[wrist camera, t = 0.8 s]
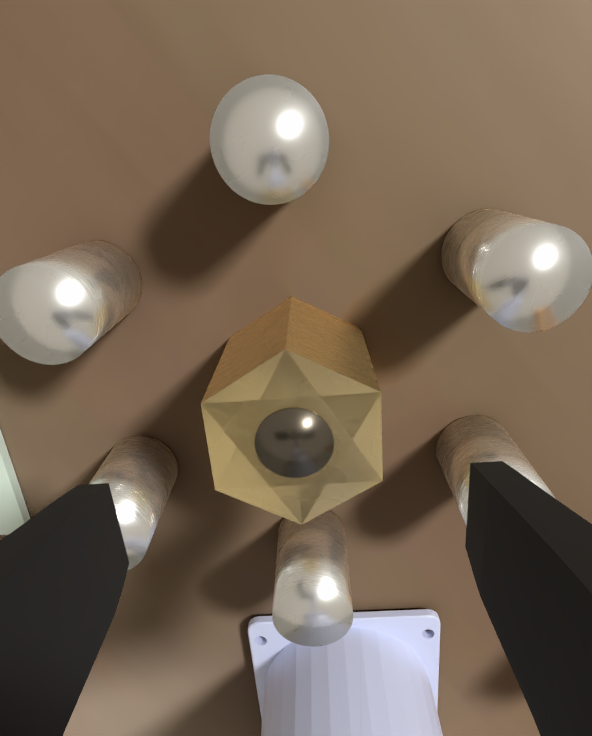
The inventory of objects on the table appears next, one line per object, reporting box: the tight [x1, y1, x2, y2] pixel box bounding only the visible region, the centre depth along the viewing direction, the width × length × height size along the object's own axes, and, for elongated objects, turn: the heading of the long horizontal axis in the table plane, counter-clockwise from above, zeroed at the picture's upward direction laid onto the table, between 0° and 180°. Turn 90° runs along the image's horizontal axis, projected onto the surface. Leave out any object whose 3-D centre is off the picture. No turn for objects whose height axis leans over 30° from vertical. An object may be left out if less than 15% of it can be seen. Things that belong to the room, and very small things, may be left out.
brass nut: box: [201, 296, 383, 525], centre depth 15 cm, size 5×4×5 cm
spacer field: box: [0, 74, 592, 647], centre depth 16 cm, size 17×15×4 cm
